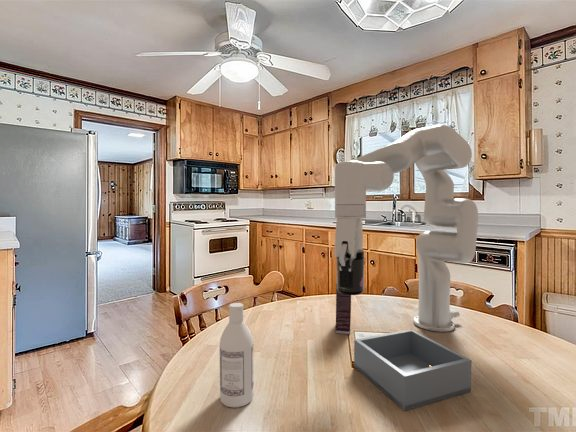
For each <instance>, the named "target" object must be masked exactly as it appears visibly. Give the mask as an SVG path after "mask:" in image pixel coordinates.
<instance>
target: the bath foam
mask: <svg viewBox="0 0 576 432" xmlns="http://www.w3.org/2000/svg"><path fill="white" fill-rule="evenodd" d="M254 383H255V381H254V341H253V335H252V332H251V331H250V329H249V327H248V325H247V324H246V323H245V321H244V304H243V303H242V302H232V303H230V304H229V305H228V324H227V325H226V327H224V330H223V331H222V334H221V336H220V339H219V394H220V395H219V396H220V402H221V403H222V404H223V405H224V406H226V407H229V408H242V407H244V406H246V405H248V404H249V403H251V401H252V400H253V398H254V386H255V385H254Z"/></svg>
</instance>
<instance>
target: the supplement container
mask: <svg viewBox="0 0 576 432" xmlns="http://www.w3.org/2000/svg"><path fill="white" fill-rule="evenodd" d="M350 257H351V255H349V253H347V255H346V258H350ZM338 258H339V257H338ZM339 263H340V261H339V259H336V284H337V290H338V292H339V293H341V294H345V295H351V296H359V295H361V294H363V292H364V290H365V250H364V249H363V250H360V251H359V252H357V254H356V258H355V259H354V260H353V265H352V271H353V288H345V287H340V270H339V268H340V265H339ZM348 263H349V261H348Z"/></svg>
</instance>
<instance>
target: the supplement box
mask: <svg viewBox="0 0 576 432" xmlns="http://www.w3.org/2000/svg"><path fill="white" fill-rule="evenodd" d="M335 286H336V288H335V289H336V290H335V291H336V292H335V334H341V335H351V323H352V322H351V321H352V295H345V294H341V293H339V292H338V290H337V283H336V285H335Z"/></svg>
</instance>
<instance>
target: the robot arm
mask: <svg viewBox="0 0 576 432" xmlns="http://www.w3.org/2000/svg"><path fill="white" fill-rule="evenodd" d="M472 156H473V153H472V148H471V145H470V144H469V142H468V141H467V140H466V139H465V138H463V136H461V134H460V133H458V131H456V130H455V129H453V128H452V127H451V126H449V125H446V124H437V125H432V126H431V125H430V126H426V127H421V128H415V129H413V130H411V131H408V132H407V133H406V134H404V135H402V136H401V137H400V138H398V139H396V140H395V141H393V142H392V143H390V144H388V145H386V146H383V147H380V148H378V149H375V150H373V151H371V152H368V153H366V154H364V155H361V156H359V157H356V159H353V160H347V161H340V162H338V163H336V165H335V167H334V218H335V219H336V224H335V234H334V235H335V236H334V258H335V259H336V260H337V259H339V261H340V263H339V265H340V268H339V270H340V287H345V288H353V271H352V265H353V260H354V259H355V258H356V254H357V252H359V251H360V250H364V249H363V247H364V245H363V243H364V239H363V238H364V237H363V233H364V232H363V229H364V228H363V219H366V218H367V200H366V199H367V193H371V192H374V193H375V192H376V193H377V192H382V191H385V190H387V189H388V188H391V186H392V184H393V182H394V177H395V175H394V174H396V173H397V174H398V173H400V172H405V171H406V170H407V169H409V168H410V167H411V166H413V165H414V164H415V166H416V167H417V169H418V170H419V173H421V176H422V177H423V179H424V183H425V194H424V195H425V198H424V207H423V209H424V211H423V219H424V220H423V221H424V223H425V224H426V225H428V226H431V227H435V228H447V229H449V228H451V229H456V232H455V231H454V232H453V231H444V230H443V231H441V230H426V231H423V232H421V233H420V234H419V235H418V236H417V238H416V240H415V241H416V246H415V247H416V252H417V253H416V254H417V257H418V313H417V315H416V316H414V317H413V319H412V320H413V322H412V323H413V324H414V325H415V326H417V327H419V328H421V329H424V330H427V331H432V332H437V333H438V332H441V333H442V332H451V331H453V330H454V329H456V326H455V323H454V321H452V320H453V318H458V317H460V311H456V310H455V311H450V310H451V309H450V307H451V305H450V304H451V302H450V301H451V272H450V269H449V268H448V265H447V264H446V262H448V263H449V262H450V263H455V264H456V263H457V264H469V263H471V262H472V261H473V260H474V258H475V255H476V250H477V235H478V226H479V225H478V224H479V211H478V210H479V209H478V206H477V204H476V203H475V201H474V200H472V199H470V198H457V197H455V198H454V195H455V191H454V190H455V184H454V181H453V179H452V178H451V176H450V175H449V174H448V172H447V171H445V170H457V169H463V168H465V167H467V166H468V165H469V164H470V162H471V161H472ZM347 253H349V255H351V257H350V258H346V255H347ZM338 257H339V258H338ZM348 261H349V263H348Z"/></svg>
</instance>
